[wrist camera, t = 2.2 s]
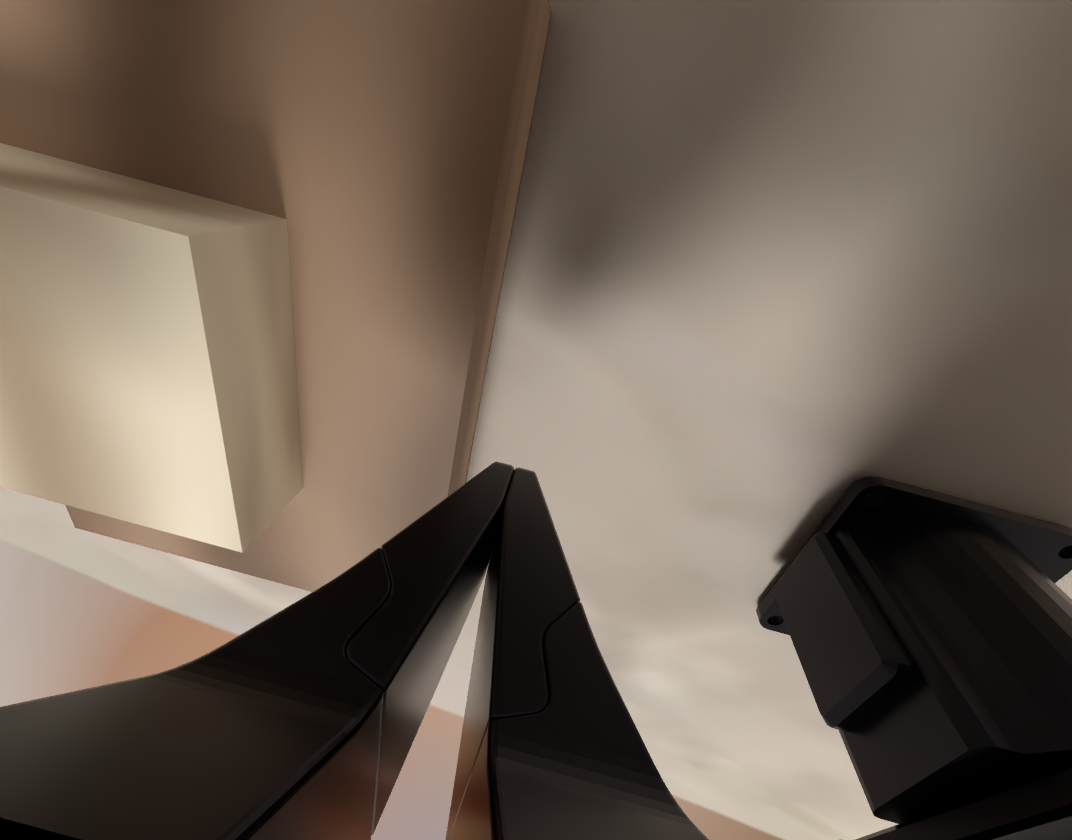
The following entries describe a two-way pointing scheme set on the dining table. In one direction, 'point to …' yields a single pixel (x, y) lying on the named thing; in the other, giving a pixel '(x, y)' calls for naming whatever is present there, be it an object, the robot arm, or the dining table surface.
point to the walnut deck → (317, 213)
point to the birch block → (145, 352)
